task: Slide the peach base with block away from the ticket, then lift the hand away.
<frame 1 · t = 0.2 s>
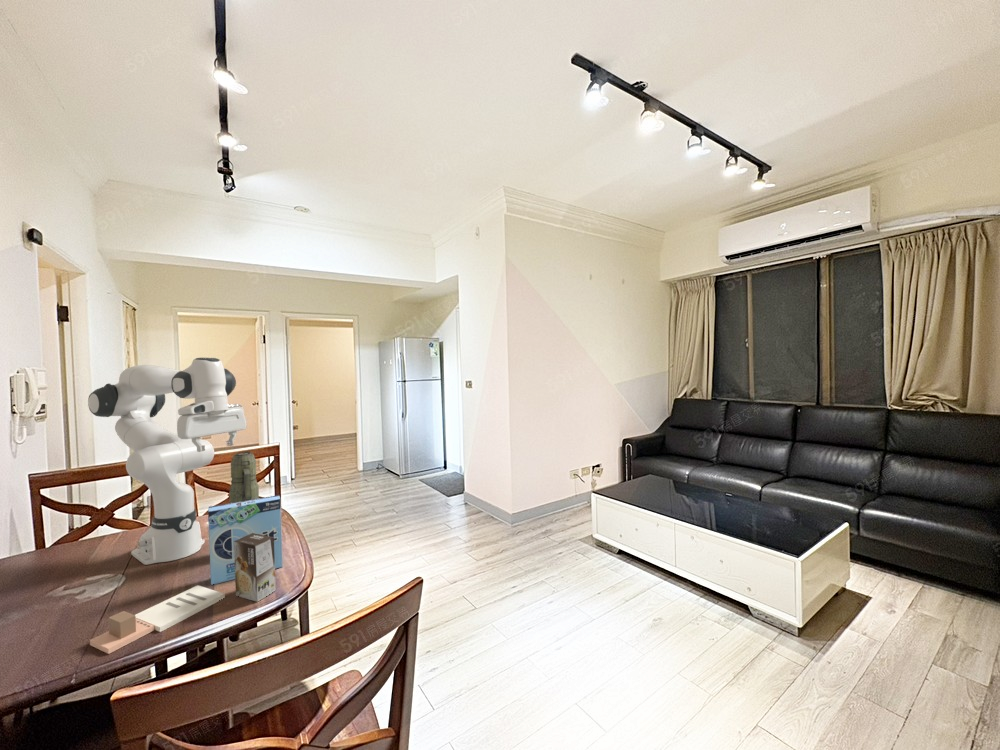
hand: (216, 448, 135), 39 cm above the table, tool pointing down, fingers open, 8 cm apart
coffee box: (255, 594, 119), on the table
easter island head: (245, 552, 146), on the table
peach base with block: (122, 627, 100), point 3 cm above the table, slide at 0.0 cm
ticket: (180, 608, 112), on the table
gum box: (247, 573, 131), on the table
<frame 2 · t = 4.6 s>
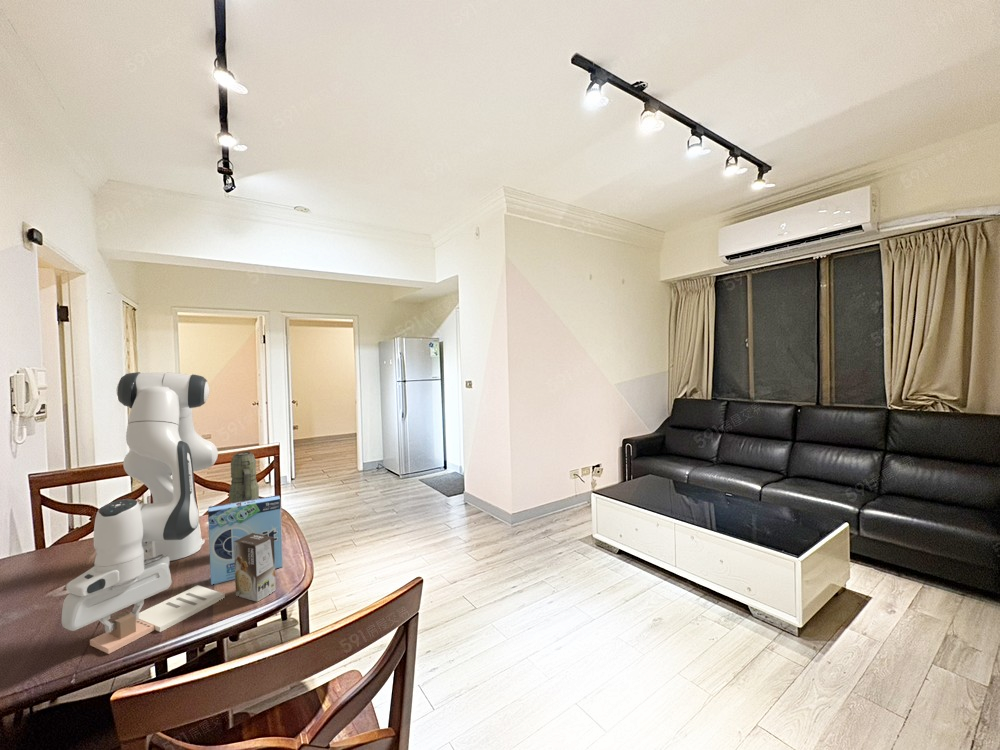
hand: (122, 625, 100), 3 cm above the table, tool pointing down, fingers closed on peach base with block, 3 cm apart
peach base with block: (122, 627, 100), point 3 cm above the table, slide at 0.0 cm, touching gripper
everything else where it was.
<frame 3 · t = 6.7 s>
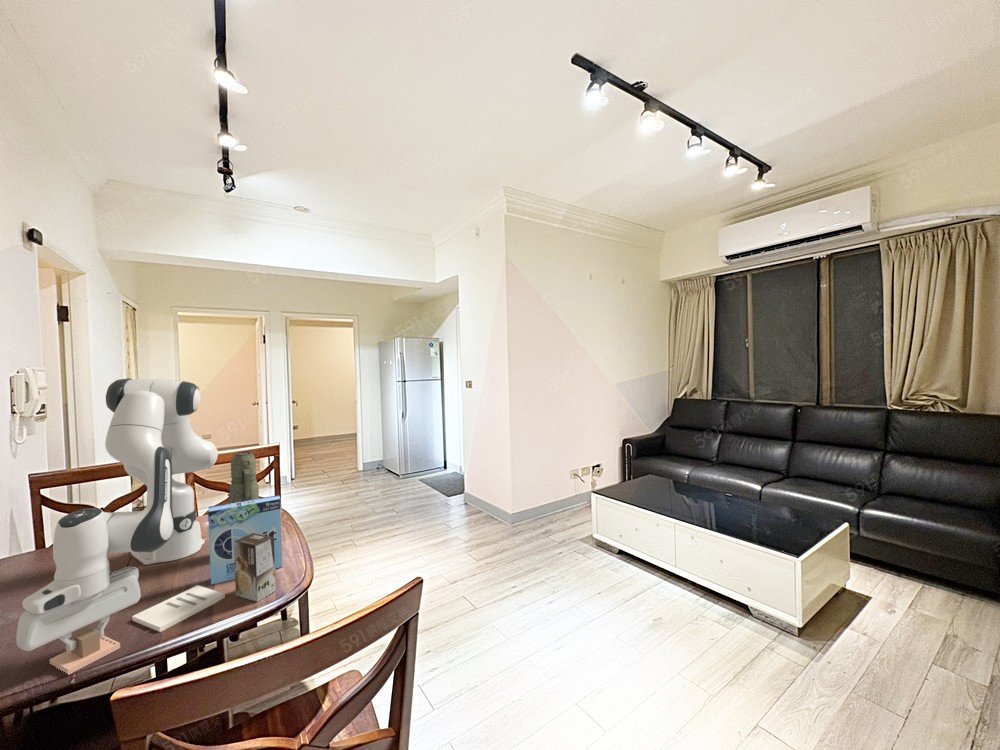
hand: (85, 643, 94), 3 cm above the table, tool pointing down, fingers closed on peach base with block, 3 cm apart
peach base with block: (85, 644, 94), point 3 cm above the table, slide at 6.8 cm, touching gripper
everything else where it was.
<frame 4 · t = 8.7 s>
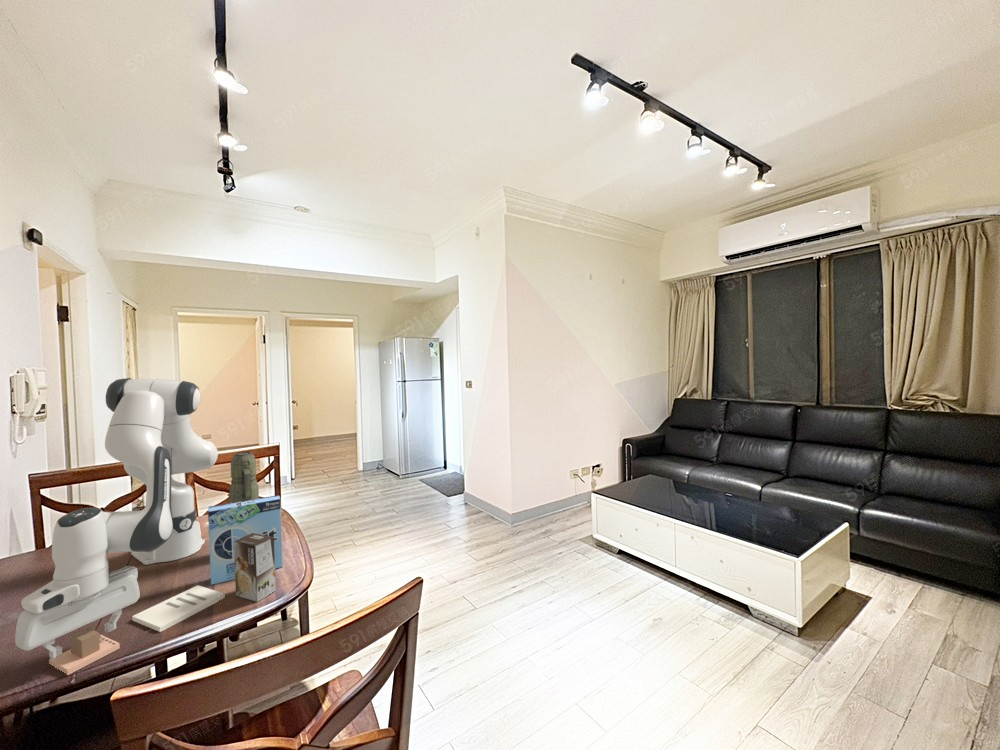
hand: (84, 642, 94), 3 cm above the table, tool pointing down, fingers open, 8 cm apart
peach base with block: (85, 645, 94), point 3 cm above the table, slide at 6.9 cm
everything else where it was.
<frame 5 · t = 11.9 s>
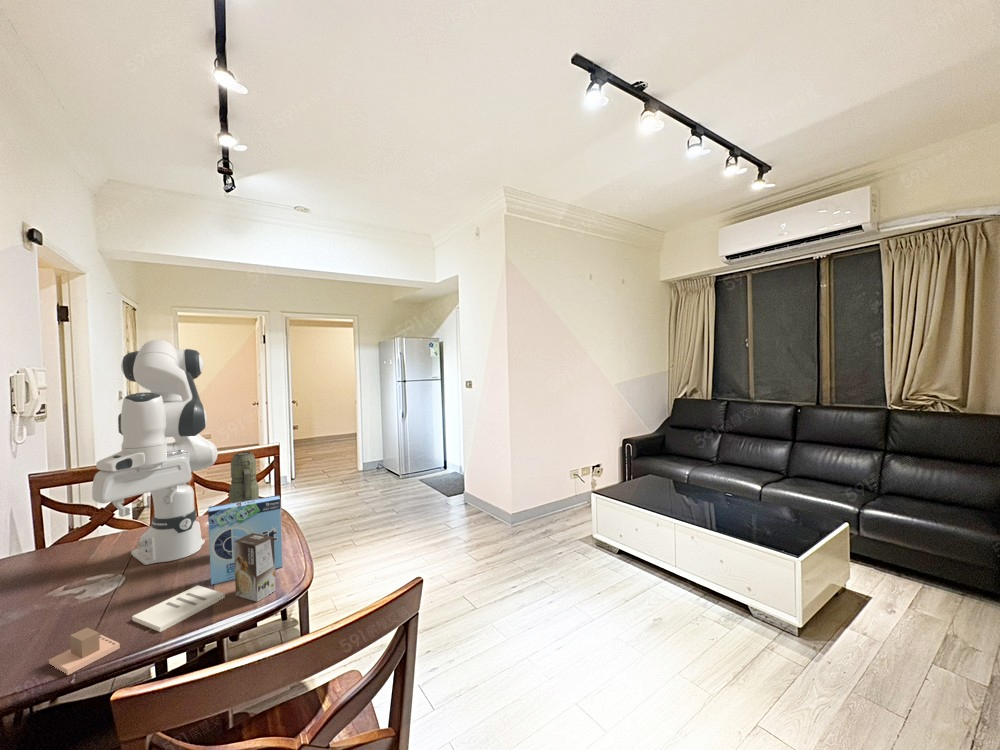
hand: (146, 509, 106), 29 cm above the table, tool pointing down, fingers open, 8 cm apart
nothing on the table moved.
at the end: peach base with block slide at 6.9 cm; the gripper is holding nothing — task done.
